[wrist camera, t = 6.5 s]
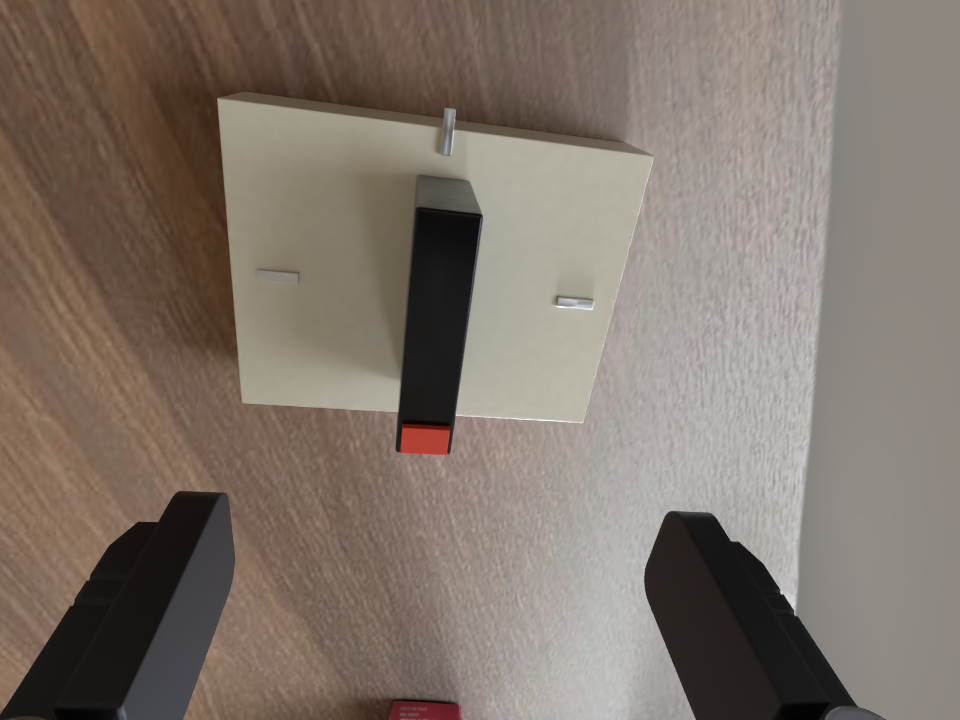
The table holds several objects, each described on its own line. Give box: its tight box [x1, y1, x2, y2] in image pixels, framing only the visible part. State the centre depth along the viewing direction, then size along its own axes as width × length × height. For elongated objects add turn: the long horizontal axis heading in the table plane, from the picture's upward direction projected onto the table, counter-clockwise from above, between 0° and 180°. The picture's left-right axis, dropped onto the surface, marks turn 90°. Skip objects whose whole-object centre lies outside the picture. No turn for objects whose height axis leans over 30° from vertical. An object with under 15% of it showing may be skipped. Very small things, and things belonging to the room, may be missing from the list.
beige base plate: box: [217, 92, 654, 423], centre depth 22 cm, size 14×12×3 cm
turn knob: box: [396, 175, 483, 455], centre depth 18 cm, size 8×2×5 cm, turn 172°
